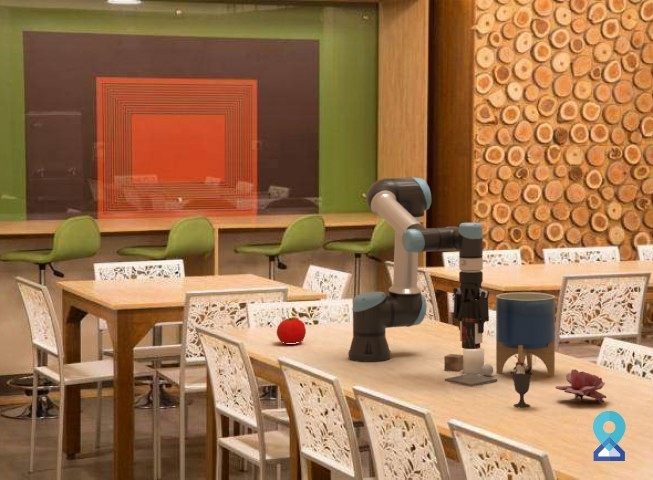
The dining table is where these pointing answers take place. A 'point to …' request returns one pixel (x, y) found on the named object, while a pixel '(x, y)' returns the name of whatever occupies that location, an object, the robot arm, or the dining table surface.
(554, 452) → the dining table surface
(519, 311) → the planter
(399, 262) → the robot arm
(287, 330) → the tomato
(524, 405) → the sundae
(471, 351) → the candle
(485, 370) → the grey ball
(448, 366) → the walnut block
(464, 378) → the slate coaster
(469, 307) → the deodorant
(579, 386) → the flower
